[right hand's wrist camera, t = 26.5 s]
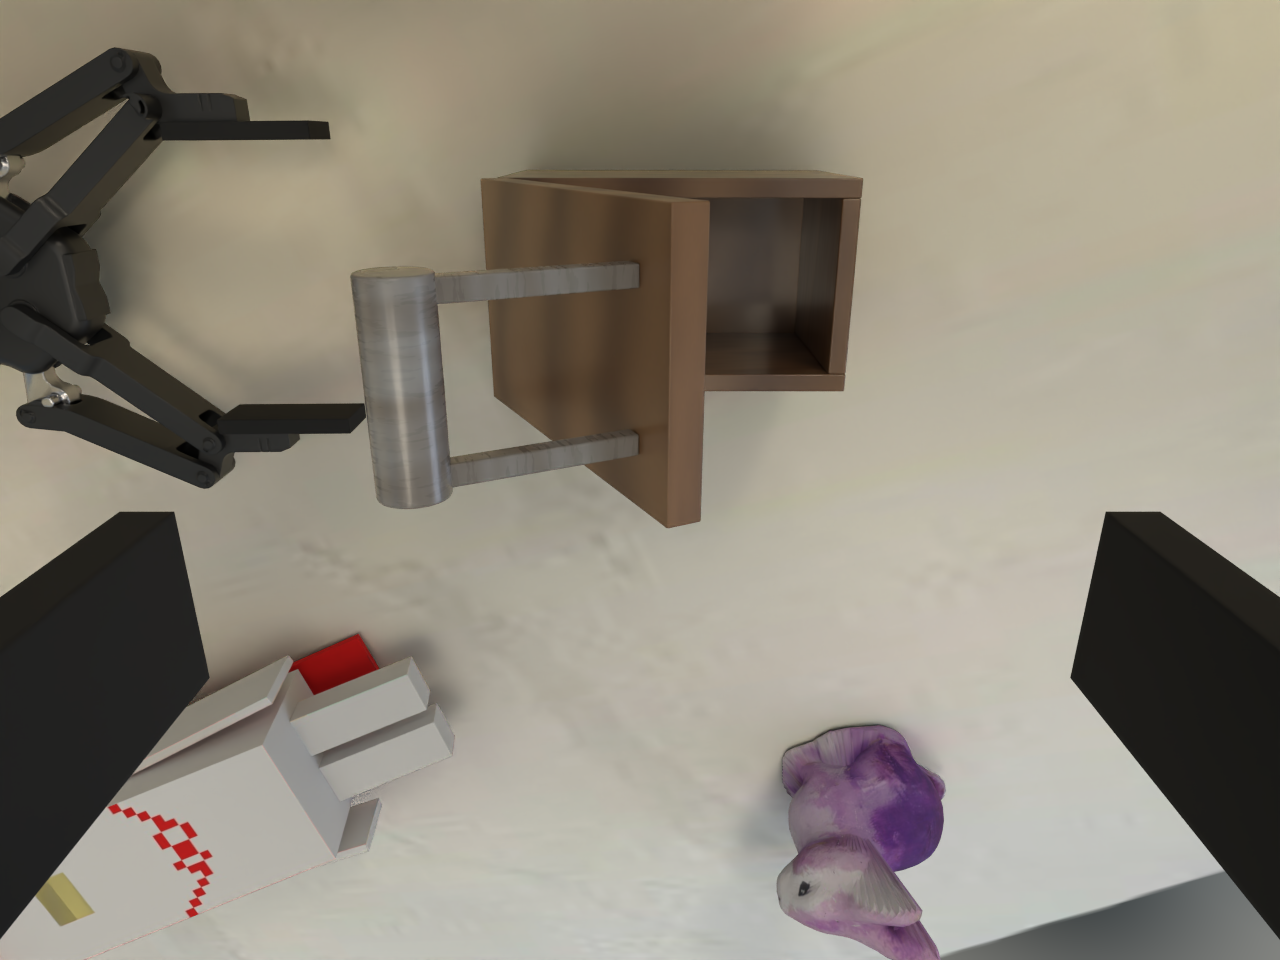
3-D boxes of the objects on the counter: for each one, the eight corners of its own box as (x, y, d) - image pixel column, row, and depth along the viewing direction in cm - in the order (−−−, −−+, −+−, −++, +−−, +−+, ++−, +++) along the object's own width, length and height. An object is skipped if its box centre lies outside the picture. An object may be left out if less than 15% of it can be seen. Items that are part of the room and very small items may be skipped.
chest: (817, 170, 46) (863, 178, 37) (805, 344, 49) (844, 391, 40) (525, 169, 46) (496, 177, 37) (532, 343, 49) (508, 391, 40)
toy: (466, 840, 50) (-16, 1035, 50) (477, 710, 63) (92, 866, 63) (371, 672, 46) (-155, 884, 46) (403, 570, 59) (-9, 735, 59)
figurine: (744, 779, 60) (775, 971, 46) (854, 689, 58) (923, 865, 44) (835, 851, 63) (890, 1055, 49) (945, 768, 60) (1037, 959, 46)
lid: (710, 200, 23) (359, 212, 19) (701, 521, 26) (401, 587, 23) (507, 177, 36) (276, 182, 32) (518, 393, 40) (310, 420, 36)
